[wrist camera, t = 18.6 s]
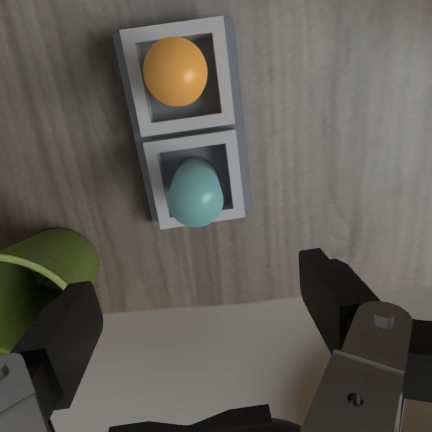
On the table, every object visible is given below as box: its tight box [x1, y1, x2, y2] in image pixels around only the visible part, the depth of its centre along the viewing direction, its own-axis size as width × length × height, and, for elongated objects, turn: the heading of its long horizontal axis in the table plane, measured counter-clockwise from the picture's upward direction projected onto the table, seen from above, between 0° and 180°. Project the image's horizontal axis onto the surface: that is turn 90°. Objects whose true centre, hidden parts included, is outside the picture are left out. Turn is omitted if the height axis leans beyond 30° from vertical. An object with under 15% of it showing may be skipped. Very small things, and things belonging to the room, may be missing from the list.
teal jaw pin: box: [167, 156, 223, 227], centre depth 26 cm, size 4×4×8 cm
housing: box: [112, 16, 252, 229], centre depth 28 cm, size 17×10×3 cm, turn 8°
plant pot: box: [0, 229, 99, 356], centre depth 28 cm, size 12×12×11 cm
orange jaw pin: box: [143, 36, 208, 106], centre depth 24 cm, size 4×4×8 cm
